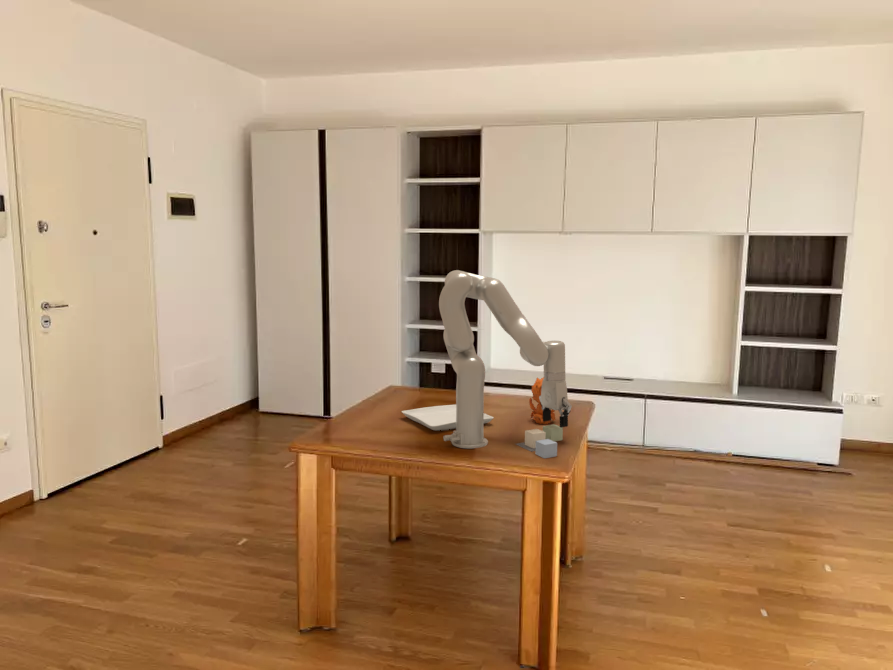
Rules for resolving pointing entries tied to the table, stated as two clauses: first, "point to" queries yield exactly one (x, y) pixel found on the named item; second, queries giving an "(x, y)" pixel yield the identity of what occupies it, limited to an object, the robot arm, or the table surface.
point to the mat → (526, 446)
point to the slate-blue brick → (546, 448)
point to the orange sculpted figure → (538, 411)
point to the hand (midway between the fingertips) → (555, 423)
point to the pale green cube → (553, 432)
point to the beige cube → (533, 437)
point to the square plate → (437, 417)
